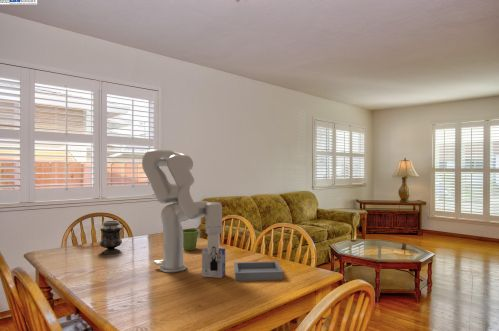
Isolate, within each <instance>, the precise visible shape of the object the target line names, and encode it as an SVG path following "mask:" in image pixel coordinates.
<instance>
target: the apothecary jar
mask: <svg viewBox="0 0 499 331" xmlns="http://www.w3.org/2000/svg"><path fill="white" fill-rule="evenodd" d="M122 229H123V226H122V224H120V221H119V220H104V221H103V223H102V225H101V226H100V228H99V230H100V231H101V232H102V236H101V240H100V241H99V246H100V247H102V248H104V250H103V251H101V254H102V253H104V254H103V255H114V254H117V253H118V254H119V253H120V252H121V250H120V249H118V247H119V246H121V245H122V244H123V241H122V239H121V236H120V234H121V230H122ZM113 253H114V254H113Z"/></svg>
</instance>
